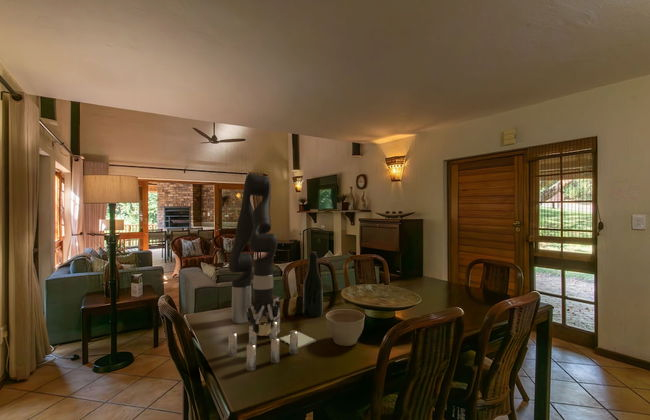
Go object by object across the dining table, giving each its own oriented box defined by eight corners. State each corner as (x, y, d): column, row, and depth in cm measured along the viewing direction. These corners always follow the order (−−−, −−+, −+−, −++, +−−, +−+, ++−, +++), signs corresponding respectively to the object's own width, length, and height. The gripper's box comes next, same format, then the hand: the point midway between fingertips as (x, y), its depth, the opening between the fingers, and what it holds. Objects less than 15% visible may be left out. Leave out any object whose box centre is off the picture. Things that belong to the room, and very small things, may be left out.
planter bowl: (319, 337, 131) (319, 312, 131) (353, 331, 138) (353, 307, 138) (335, 353, 117) (335, 324, 117) (372, 346, 123) (372, 318, 123)
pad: (279, 339, 129) (279, 338, 129) (298, 333, 136) (298, 331, 136) (296, 348, 120) (296, 347, 120) (316, 341, 127) (316, 340, 127)
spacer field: (225, 353, 116) (226, 332, 116) (273, 338, 130) (273, 319, 130) (250, 373, 102) (250, 349, 102) (300, 353, 116) (300, 332, 116)
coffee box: (280, 332, 137) (280, 295, 138) (273, 337, 131) (273, 299, 131) (262, 329, 140) (262, 294, 140) (255, 334, 134) (255, 297, 134)
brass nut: (253, 332, 117) (253, 322, 117) (264, 328, 120) (264, 319, 120) (261, 336, 112) (261, 327, 112) (272, 333, 116) (272, 323, 116)
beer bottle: (298, 314, 161) (298, 251, 161) (312, 310, 168) (312, 250, 169) (313, 319, 154) (313, 253, 154) (326, 314, 162) (327, 251, 162)
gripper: (274, 281, 124) (273, 323, 124) (241, 287, 114) (240, 333, 114) (284, 285, 118) (284, 329, 118) (251, 291, 109) (250, 339, 108)
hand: (262, 330), depth 116 cm, fingers closed on brass nut, 5 cm apart
